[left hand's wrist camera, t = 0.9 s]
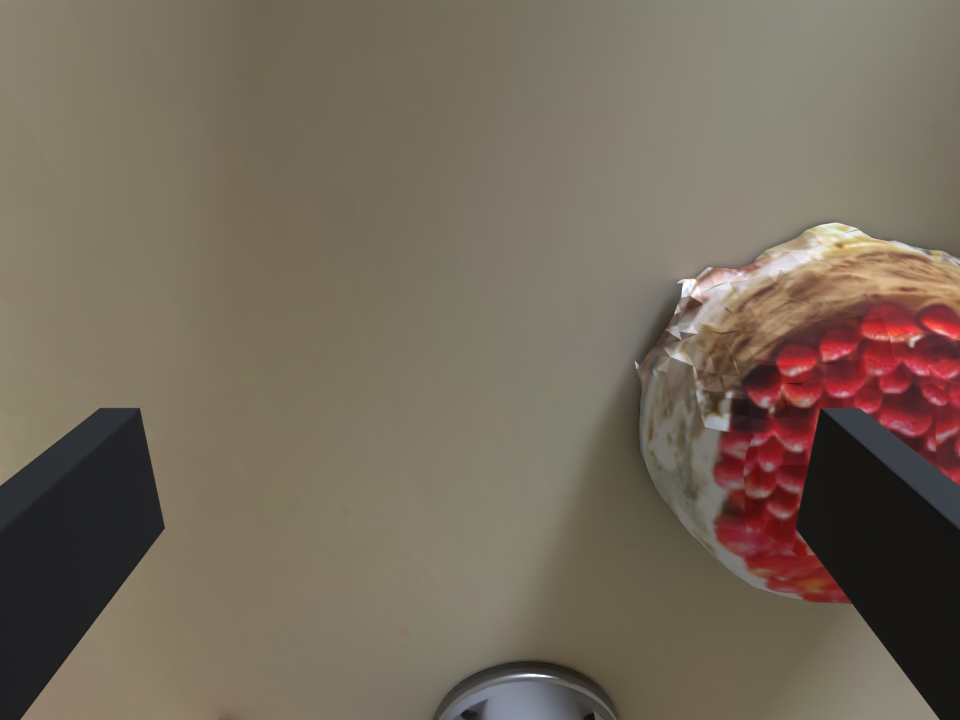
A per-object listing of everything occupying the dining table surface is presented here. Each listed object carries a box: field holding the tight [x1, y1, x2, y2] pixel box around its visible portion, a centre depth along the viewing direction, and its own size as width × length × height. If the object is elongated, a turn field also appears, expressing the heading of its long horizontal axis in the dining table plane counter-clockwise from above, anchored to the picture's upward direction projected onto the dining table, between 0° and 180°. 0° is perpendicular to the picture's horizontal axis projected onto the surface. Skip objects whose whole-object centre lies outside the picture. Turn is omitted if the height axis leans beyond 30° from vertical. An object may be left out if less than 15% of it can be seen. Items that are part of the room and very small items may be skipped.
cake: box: [635, 223, 960, 604], centre depth 37 cm, size 23×24×10 cm
